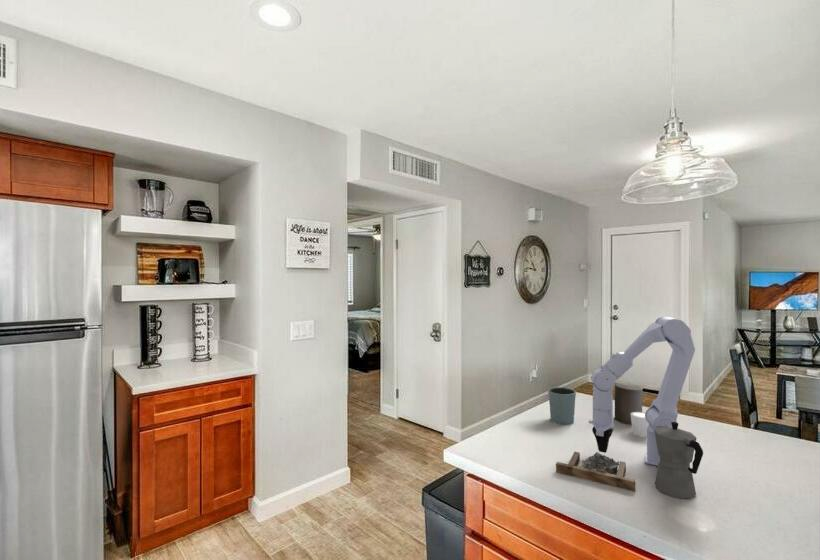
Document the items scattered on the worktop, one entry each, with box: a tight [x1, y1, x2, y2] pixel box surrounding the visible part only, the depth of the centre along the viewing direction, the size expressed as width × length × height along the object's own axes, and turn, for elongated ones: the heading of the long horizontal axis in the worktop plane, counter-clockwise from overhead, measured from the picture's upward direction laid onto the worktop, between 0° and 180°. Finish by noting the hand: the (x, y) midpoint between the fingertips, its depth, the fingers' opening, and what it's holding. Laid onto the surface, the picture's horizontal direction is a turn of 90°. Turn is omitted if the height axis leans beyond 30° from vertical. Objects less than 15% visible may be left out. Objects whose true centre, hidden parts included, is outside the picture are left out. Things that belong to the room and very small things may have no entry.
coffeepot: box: [654, 422, 704, 500], centre depth 106 cm, size 15×9×18 cm, turn 6°
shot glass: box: [631, 411, 649, 438], centre depth 146 cm, size 7×7×7 cm
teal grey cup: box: [547, 386, 577, 426], centre depth 159 cm, size 10×10×12 cm
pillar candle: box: [613, 382, 644, 426], centre depth 159 cm, size 10×10×15 cm
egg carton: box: [580, 451, 620, 475], centre depth 118 cm, size 11×8×4 cm
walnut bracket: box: [555, 451, 636, 492], centre depth 117 cm, size 20×12×2 cm, turn 58°
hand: (602, 451), depth 128 cm, fingers closed
